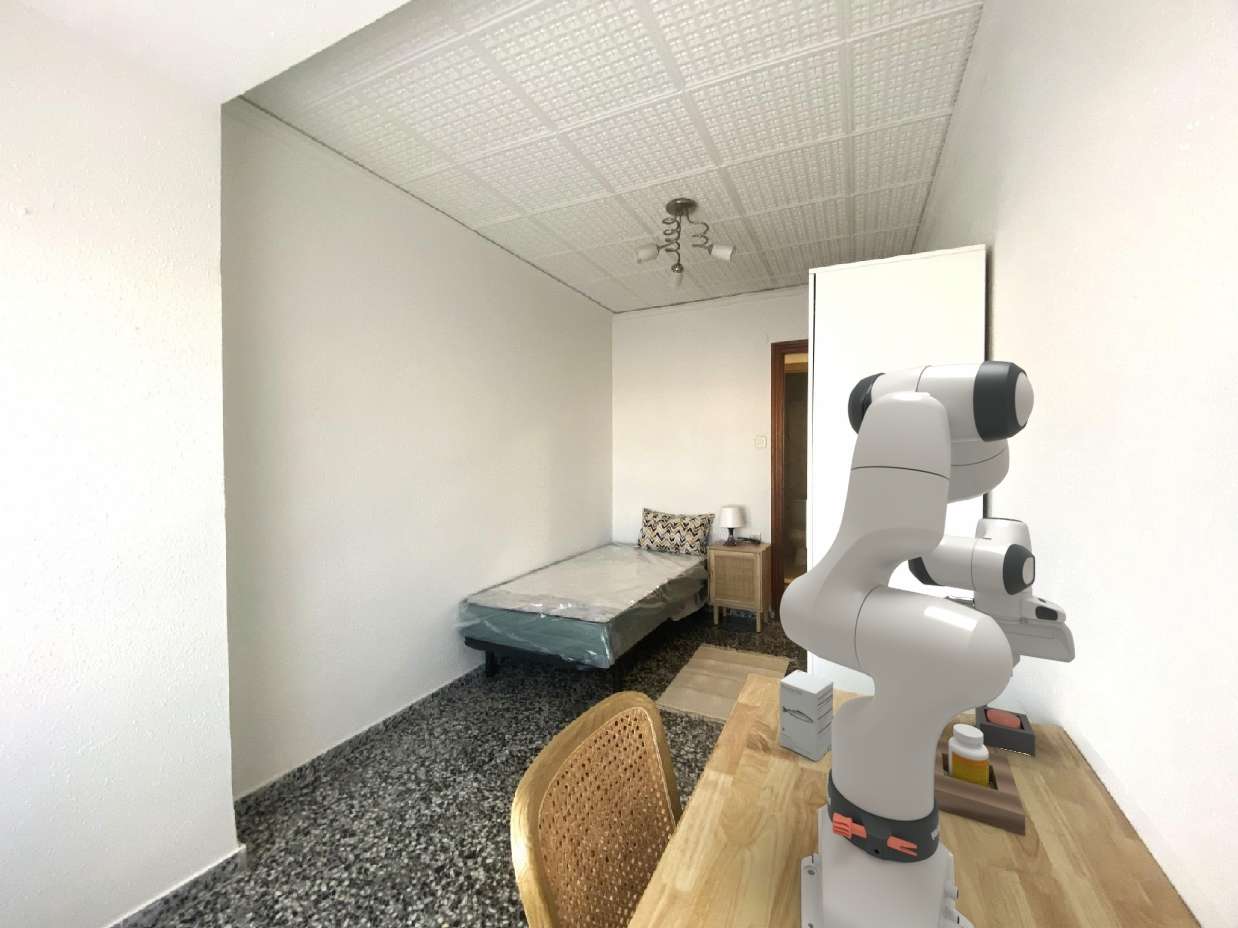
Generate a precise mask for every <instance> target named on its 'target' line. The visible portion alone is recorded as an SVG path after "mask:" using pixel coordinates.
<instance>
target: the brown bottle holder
mask: <svg viewBox="0 0 1238 928" xmlns="http://www.w3.org/2000/svg"><path fill="white" fill-rule="evenodd" d="M948 744H949V740H944V739H940V738H939V740H938V743H937V749H936V758H935V772H934V796H935V798H936V800H937V803H938V811H942V812H947V813H950V814H952V815H956V816H960V817H962V818H966V819H968V820H969V819H970V820H972V821H975V822H979V823H982V824H985V825H988V826H992V827H995V828H998V829H1002V830H1005V831H1007V832H1011V833H1013V834H1014V833H1015V834H1017V835H1020V836H1024V837H1026V814H1025V810H1024V808H1023V804H1022V800H1021V797H1020V793H1019V791H1018V788H1017V785H1016V780H1015V778H1014V775H1013V770H1012V768H1011V765H1010V762H1009V758H1008V755H1005V754H1001V753H996V752H992V751H990V750H988V752H989V784H992V787H993V788H991V787H989V788H987V787H984V786H980V785H977V784H973V783H969V782H966V781H962V780H958V779H955V778H951V777H949V775H948V776H947V775H944V772H948V770H949V764H948V762H949V760H948Z"/></svg>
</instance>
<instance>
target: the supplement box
mask: <svg viewBox="0 0 1238 928" xmlns="http://www.w3.org/2000/svg"><path fill="white" fill-rule="evenodd" d="M833 716H834V681H833V680H829V679H826V678H824V677H820V676H817V675H814V674H811V673H808V672H805V671H802V670H799V669H796V670H794V671H792V672H791V673H790V674H788V675H786V676H785V677H784V678H782V679H781V680H780V681H779V724H780V725H779V737H780V738H779V746H782V747H784V748H787V749H789V750H790V751H793V752H796V753H797V754H800V755H802V756H804V757H806V758H808V759H810V760H812V761H814V762H818V761H819V760H820V759H821V758H822V757H823V756H824V755H826V753H827V752H829V750H831V722H832V719H833Z"/></svg>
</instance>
